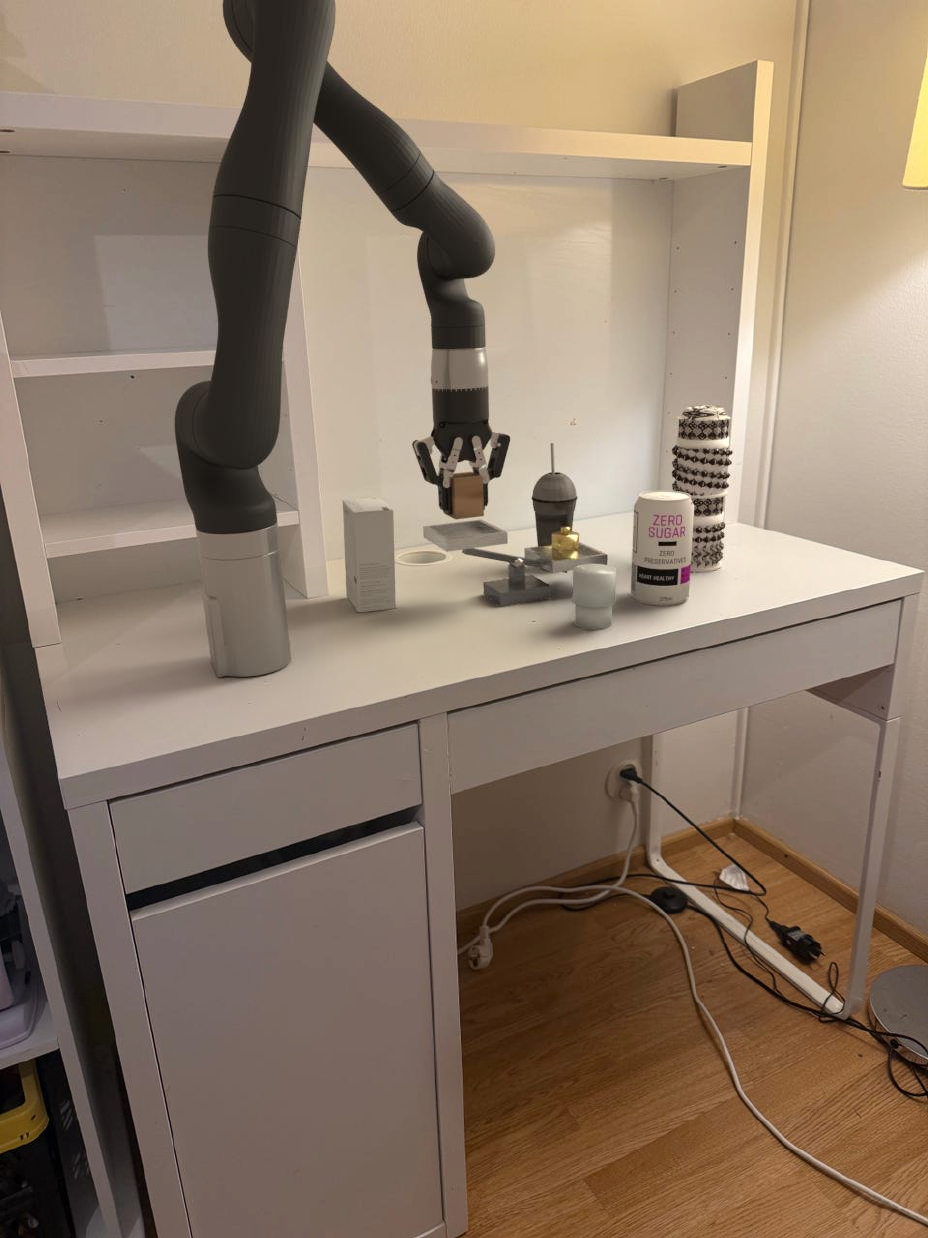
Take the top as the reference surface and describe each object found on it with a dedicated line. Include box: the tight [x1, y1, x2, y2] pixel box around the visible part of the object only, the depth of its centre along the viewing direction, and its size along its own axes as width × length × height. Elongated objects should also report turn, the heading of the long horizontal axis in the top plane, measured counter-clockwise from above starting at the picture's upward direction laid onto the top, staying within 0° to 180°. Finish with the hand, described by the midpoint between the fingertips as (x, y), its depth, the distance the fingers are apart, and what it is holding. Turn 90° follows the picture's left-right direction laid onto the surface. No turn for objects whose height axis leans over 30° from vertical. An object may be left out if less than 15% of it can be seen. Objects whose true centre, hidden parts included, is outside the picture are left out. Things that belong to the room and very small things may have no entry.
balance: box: [422, 518, 609, 607], centre depth 127 cm, size 25×9×11 cm, turn 112°
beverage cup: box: [531, 442, 578, 573], centre depth 140 cm, size 7×7×20 cm
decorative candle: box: [671, 405, 734, 573], centre depth 138 cm, size 9×9×25 cm
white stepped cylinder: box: [572, 564, 617, 631], centre depth 116 cm, size 6×6×8 cm
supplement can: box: [630, 489, 694, 607], centre depth 124 cm, size 8×8×15 cm
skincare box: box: [341, 497, 397, 613], centre depth 126 cm, size 8×6×15 cm
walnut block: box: [443, 471, 485, 520], centre depth 121 cm, size 4×4×6 cm
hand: (464, 510), depth 122 cm, fingers closed on walnut block, 4 cm apart
